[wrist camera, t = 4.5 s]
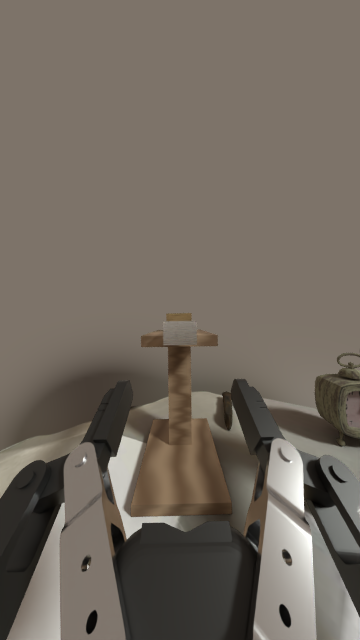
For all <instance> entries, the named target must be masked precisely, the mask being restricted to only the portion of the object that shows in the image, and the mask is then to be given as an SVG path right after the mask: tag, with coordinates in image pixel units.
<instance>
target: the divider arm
mask: <svg viewBox="0 0 360 640" xmlns="http://www.w3.org/2000/svg"><path fill="white" fill-rule="evenodd" d="M166 315H167V321H164V322H163V345H197V322H196V321H191V313H187V314H186V313H183V314H181V313H180V314H166Z"/></svg>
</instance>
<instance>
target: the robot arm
mask: <svg viewBox="0 0 360 640" xmlns="http://www.w3.org/2000/svg"><path fill="white" fill-rule="evenodd" d="M231 399H232V402H233V405H234V408H235V411H236V414H237V417H238V419H239V422H240V425H241V428H242V431H243V434H244V437H245V440H246V443H247V446H248V448H249V451H250V454H251V455H257V457H258V460H259V462H258V467H257V473H256V479H255V484H254V490H253V496H252V500H251V504H250V507H249V510H248V513H247V518H246V523H245V528H244V534H243V535H242V534H241V533H240V532H239V531H237V530H236V529H234V528H233V527H231V526H230V524H229V521H210V522H206V523H204V524H202V525H200V526H198V527H196V528H194V529H193V530H191V531H189V532H183V531H181V530H179V529H176V528H174V527H172V526H170V525H168V524H165V523H142V528H141V529H139V530H138V531H136V532H135V533H134V534H132V535H131V536H130V537H129V538H128V539H126V535H125V531H124V527H123V522H122V519H121V515H120V512H119V510H118V507H117V504H116V500H115V496H114V492H113V487H112V483H111V479H110V474H109V470H108V463H109V460H110V457H116V455H117V452H118V448H119V445H120V442H121V438H122V435H123V431H124V428H125V424H126V421H127V417H128V414H129V410H130V407H131V403H132V400H133V391H132V387H131V384H130V381H129V380H123V381H118V382H117V385H116V387H115V389H110V390H109V391H108V392H107V393H106V394H105V396H104V398H103V400H102V402H101V405H100V406H99V408H98V411H97V412H96V414H95V416H94V418H93V420H92V423H91V425H90V427H89V429H88V431H87V433H86V435H85V437H84V439H83V441H82V442H81V443H80V445H79V446H77V447H76V448H75V449H74V450H73V451H72V452H71V453H69V454H68V455H65V456H63V457H61V458H58V459H56V460H53V461H51V462H48V463H45V462H44V461H42V460H38V461H34V462H32V463H30V464H29V465H27V466H26V467H25V468H23V469H22V470H21V471H20V472H19V473H18V474H17V475H16V477H15V478H14V479H13V481H12V482H11V483H10V485H9V487H8V488H7V490H6V491H5V493H4V494H3V496H2V497H1V499H0V640H6V639H7V637H8V634H9V632H10V629H11V627H12V625H13V622H14V620H15V617H16V615H17V612H18V610H19V607H20V605H21V602H22V600H23V598H24V595H25V593H26V590H27V588H28V585H29V583H30V580H31V578H32V576H33V573H34V571H35V568H36V566H37V563H38V561H39V558H40V556H41V553H42V551H43V549H44V546H45V544H46V541H47V539H48V536H49V534H50V531H51V529H52V526H53V524H54V522H55V519H56V517H57V514H58V512H59V509H60V507H61V504H62V503H64V502H65V525H64V527H63V529H62V531H61V536H60V613H61V640H317V639H316V618H315V598H314V577H313V556H312V537H311V530H310V527H309V524H308V522H307V521H306V519H305V516H304V498H305V499H306V502H307V504H308V506H309V508H310V510H311V512H312V515H313V517H314V519H315V521H316V523H317V526H318V528H319V530H320V532H321V534H322V536H323V539H324V541H325V543H326V545H327V547H328V549H329V552H330V554H331V556H332V558H333V560H334V562H335V565H336V567H337V569H338V571H339V573H340V575H341V578H342V580H343V582H344V584H345V586H346V588H347V591H348V593H349V595H350V597H351V599H352V601H353V604H354V606H355V608H356V610H357V612H358V614H359V617H360V482H359V481H358V480H357V478H356V477H355V475H354V474H353V473H352V471H351V470H350V469H349V468H348V467H347V466H346V465H345V464H344V463H342V462H341V461H340V460H338V459H336V458H335V457H333V456H330V455H323V456H322V457H320V458H318V457H315V456H313V455H310V454H307V453H304V452H302V451H299V450H297V449H296V448H295V447H294V446H293V445H291V444H290V443H289V442H288V441H286V439H285V438H284V437H283V435H282V433H281V432H280V430H279V428H278V426H277V424H276V422H275V421H274V419H273V417H272V415H271V413H270V411H269V410H268V409H267V406H266V404H265V402H264V400H263V399H262V397H261V395H260V393H259V392H258V391H257V390H256V389H255V388H254V387H249V385H248V383H247V381H246V380H245V379H234V381H233V385H232V388H231ZM284 558H285V560H286V563H285V561H284ZM87 564H88V565H89V568H88V569H87Z"/></svg>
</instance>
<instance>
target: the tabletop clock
mask: <svg viewBox="0 0 360 640" xmlns="http://www.w3.org/2000/svg"><path fill="white" fill-rule="evenodd" d="M346 355H355V356H359V357H360V355H359V354H355V353H344V354H341V355H340V356H339V357H338V358H337V362H338V364H340V365H341V366H344V367H348V368H343V369H341V370H340V371H339V372H338V374H326V375H321V376H318V377H317V378H316V381H315V401H316V406H317V409H318V412H319V414H320V416H321V417H323V418H324V419H325V420H327V421H328V422H329V423H330V424H332V425H333V426H334V427H336V428H337V429H338V430H339V435H340V438H337V443H338V444H339V445H341V446H345V442H344V441H343V440H342V439H343V434H345V435H347V436H350V437H353V438H359V439H360V371H359V370H356V369H354V368H357V367H360V364H359V365H354V364H353V363H351V362H350V363H348V365H344V364H341V363H340V362H339V359H340V358H341V357H343V356H346Z"/></svg>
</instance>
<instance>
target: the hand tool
mask: <svg viewBox="0 0 360 640" xmlns="http://www.w3.org/2000/svg"><path fill="white" fill-rule="evenodd" d="M222 396H223V403H224V415H225V423H226V426H227V428H228V430H230V429H231V426H232V402H231V400H232V399H231V393H230V392H224V393H223V394H222Z"/></svg>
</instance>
